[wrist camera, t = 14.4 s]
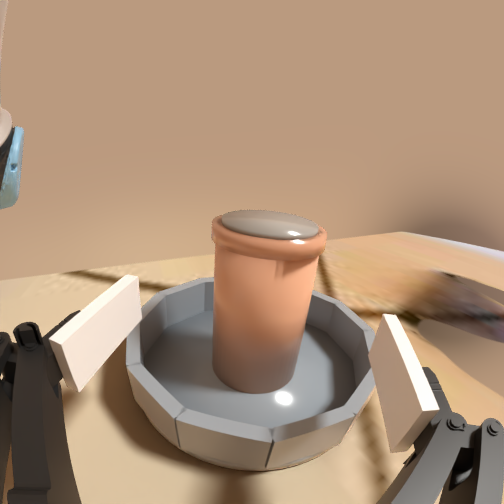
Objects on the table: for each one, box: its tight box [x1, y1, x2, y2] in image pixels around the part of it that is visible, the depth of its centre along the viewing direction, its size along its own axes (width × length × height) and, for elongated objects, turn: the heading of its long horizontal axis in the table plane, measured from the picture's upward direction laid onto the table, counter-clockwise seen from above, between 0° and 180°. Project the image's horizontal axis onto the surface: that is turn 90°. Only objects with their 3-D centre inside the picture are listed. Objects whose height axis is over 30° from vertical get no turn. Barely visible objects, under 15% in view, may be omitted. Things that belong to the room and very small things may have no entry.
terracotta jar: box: [211, 210, 327, 394], centre depth 21 cm, size 8×8×12 cm
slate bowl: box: [126, 277, 376, 471], centre depth 23 cm, size 20×20×4 cm
